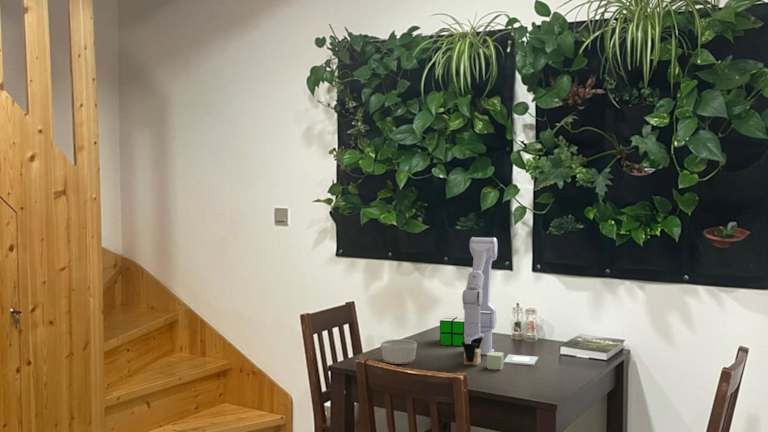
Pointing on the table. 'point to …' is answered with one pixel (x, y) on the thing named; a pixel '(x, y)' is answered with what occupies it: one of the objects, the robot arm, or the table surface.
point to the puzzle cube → (452, 331)
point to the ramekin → (398, 350)
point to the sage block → (495, 360)
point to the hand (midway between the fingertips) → (472, 359)
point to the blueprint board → (521, 360)
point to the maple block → (476, 357)
